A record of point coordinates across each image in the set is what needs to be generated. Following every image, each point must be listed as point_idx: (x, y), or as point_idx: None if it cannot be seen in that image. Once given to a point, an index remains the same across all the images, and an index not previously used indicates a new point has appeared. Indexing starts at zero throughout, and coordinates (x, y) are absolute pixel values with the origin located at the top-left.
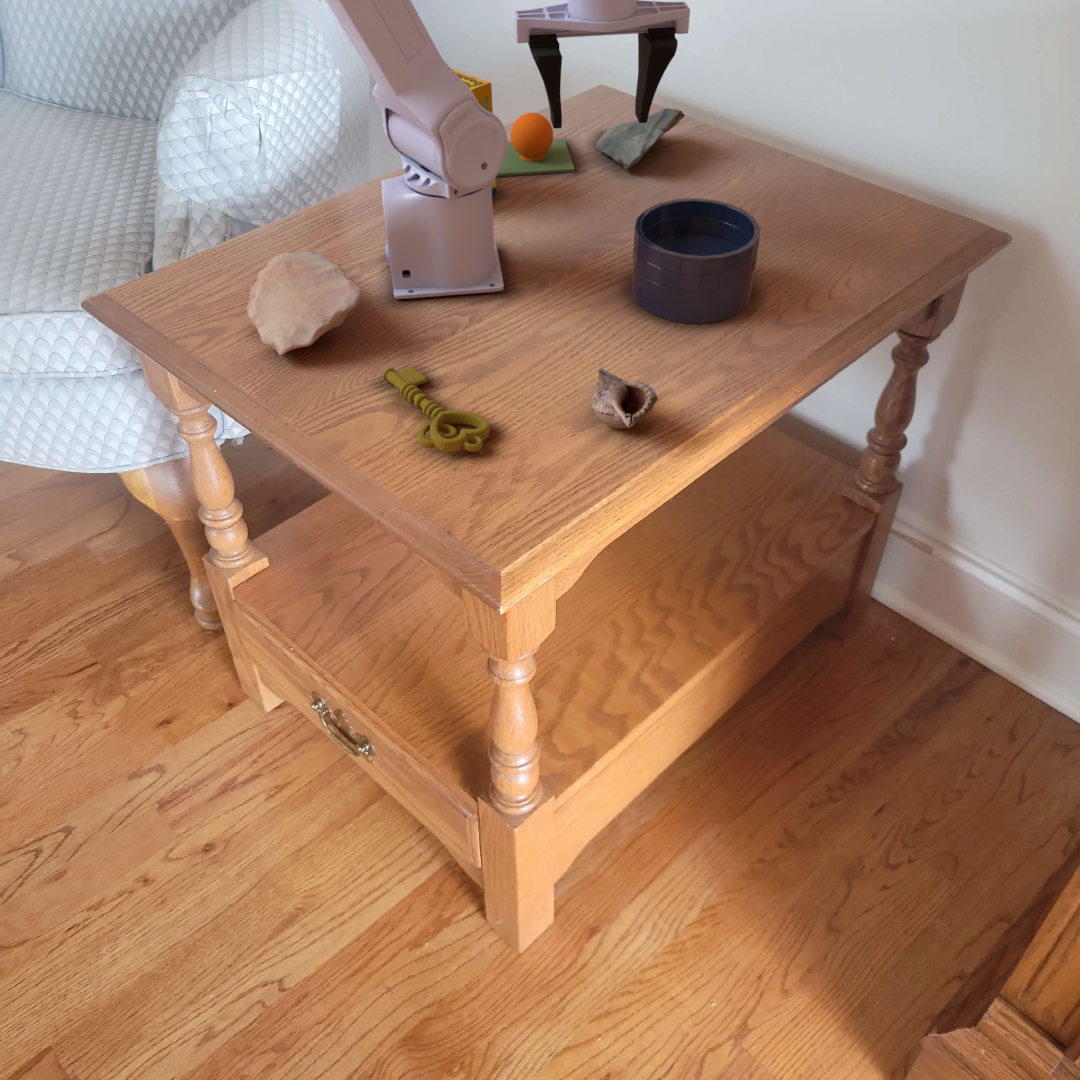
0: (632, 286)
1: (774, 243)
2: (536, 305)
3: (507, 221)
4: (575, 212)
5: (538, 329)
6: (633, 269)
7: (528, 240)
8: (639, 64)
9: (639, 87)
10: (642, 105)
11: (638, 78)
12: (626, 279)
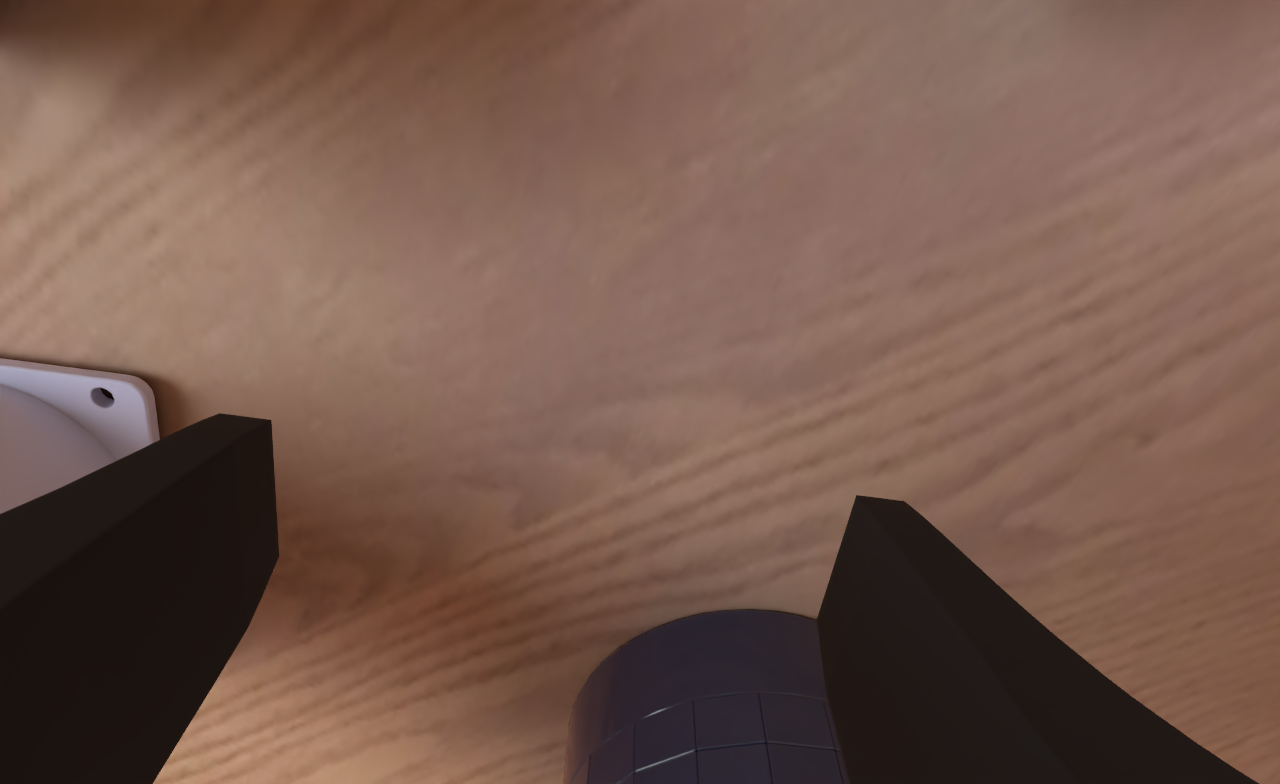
0: (570, 727)
1: (1134, 592)
2: (284, 694)
3: (208, 173)
4: (528, 182)
5: (280, 777)
6: (565, 777)
7: (291, 352)
8: (1011, 781)
9: (912, 689)
10: (842, 746)
11: (960, 658)
12: (579, 648)
